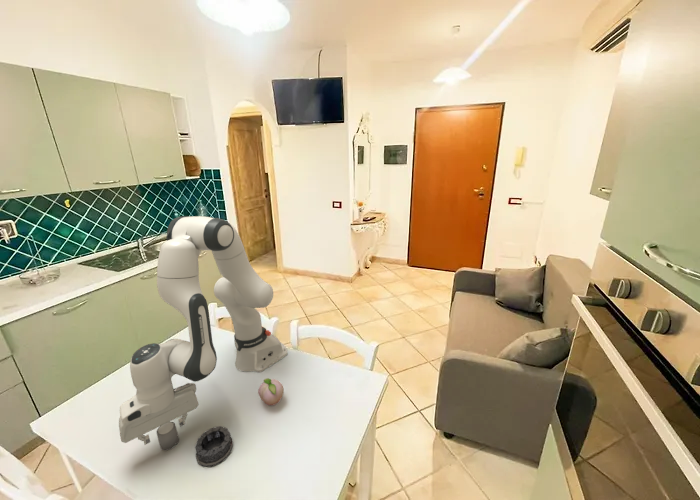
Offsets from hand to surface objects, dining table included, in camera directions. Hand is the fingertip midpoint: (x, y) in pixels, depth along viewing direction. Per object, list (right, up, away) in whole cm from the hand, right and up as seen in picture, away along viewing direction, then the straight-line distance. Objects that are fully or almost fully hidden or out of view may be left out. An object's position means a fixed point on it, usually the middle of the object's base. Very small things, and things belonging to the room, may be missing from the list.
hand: (165, 433), depth 91 cm
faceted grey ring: (+16, -5, 0) cm, 16 cm away
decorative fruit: (+29, +1, +17) cm, 33 cm away
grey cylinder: (0, -4, +2) cm, 5 cm away
